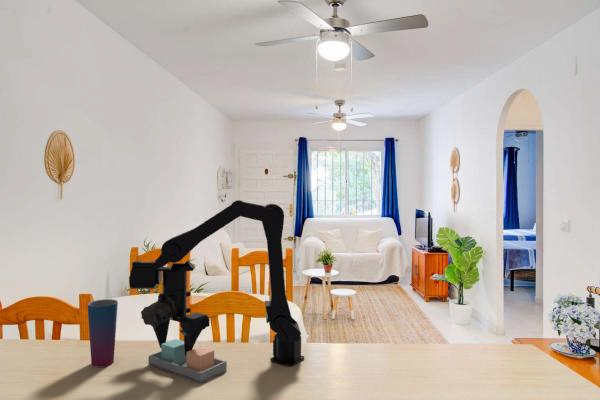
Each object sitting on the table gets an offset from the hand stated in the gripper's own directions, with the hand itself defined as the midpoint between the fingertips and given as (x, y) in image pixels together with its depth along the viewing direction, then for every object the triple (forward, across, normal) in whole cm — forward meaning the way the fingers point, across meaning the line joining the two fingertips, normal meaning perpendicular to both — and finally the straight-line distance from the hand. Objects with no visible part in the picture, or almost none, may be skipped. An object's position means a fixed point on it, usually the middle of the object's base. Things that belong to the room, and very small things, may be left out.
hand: (174, 351), depth 109 cm
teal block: (+2, 0, 0) cm, 3 cm away
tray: (+3, +4, 0) cm, 5 cm away
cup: (+3, -14, -10) cm, 18 cm away
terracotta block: (+2, +9, 0) cm, 9 cm away
